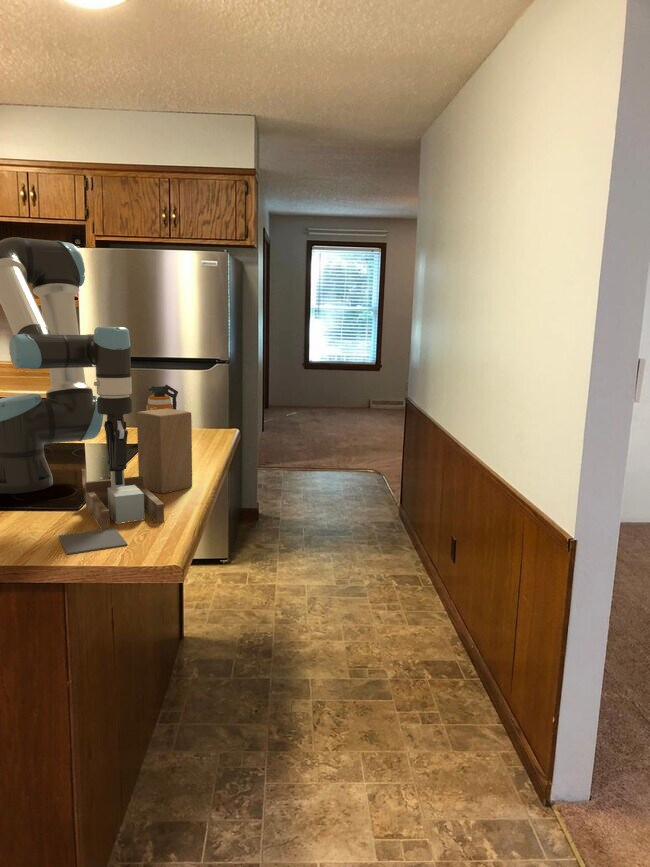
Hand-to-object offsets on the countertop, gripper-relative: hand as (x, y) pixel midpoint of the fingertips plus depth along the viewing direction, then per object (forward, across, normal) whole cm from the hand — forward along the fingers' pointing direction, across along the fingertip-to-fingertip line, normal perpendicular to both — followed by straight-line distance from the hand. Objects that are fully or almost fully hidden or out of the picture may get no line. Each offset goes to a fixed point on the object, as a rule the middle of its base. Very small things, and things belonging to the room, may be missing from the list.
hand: (118, 497), depth 147 cm
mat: (+3, +21, -10) cm, 23 cm away
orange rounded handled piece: (+2, -78, +33) cm, 85 cm away
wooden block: (+3, -13, +15) cm, 20 cm away
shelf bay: (+3, +6, 0) cm, 6 cm away
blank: (+3, +8, 0) cm, 8 cm away
